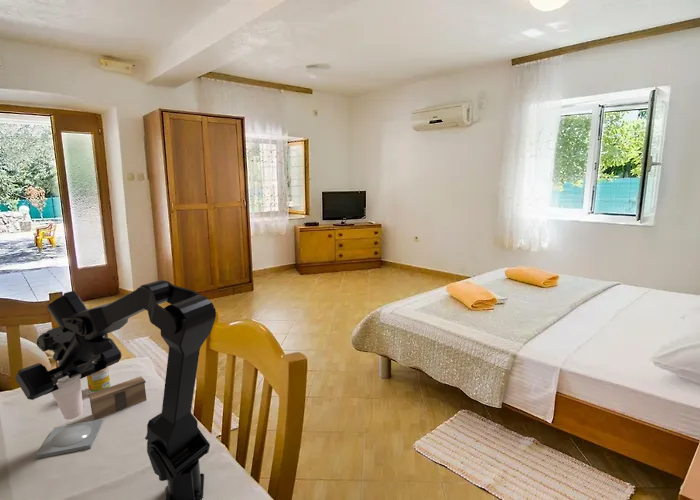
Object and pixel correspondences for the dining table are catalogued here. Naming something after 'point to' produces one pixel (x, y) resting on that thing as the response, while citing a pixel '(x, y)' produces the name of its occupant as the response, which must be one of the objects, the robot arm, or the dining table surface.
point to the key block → (117, 397)
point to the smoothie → (69, 396)
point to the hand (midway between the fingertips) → (61, 384)
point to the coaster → (70, 438)
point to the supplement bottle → (99, 380)
